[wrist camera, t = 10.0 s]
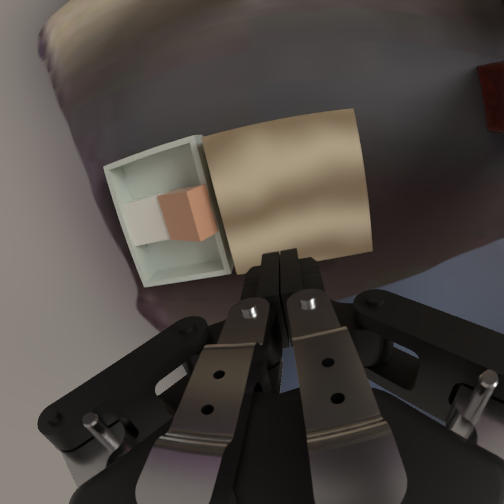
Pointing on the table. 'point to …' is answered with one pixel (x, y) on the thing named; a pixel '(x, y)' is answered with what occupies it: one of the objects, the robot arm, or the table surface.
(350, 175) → the birch board
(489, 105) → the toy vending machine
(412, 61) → the table surface
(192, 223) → the terracotta tile
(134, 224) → the white tile
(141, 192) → the grey tray
